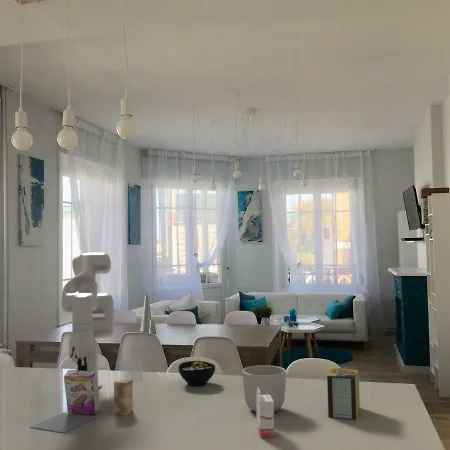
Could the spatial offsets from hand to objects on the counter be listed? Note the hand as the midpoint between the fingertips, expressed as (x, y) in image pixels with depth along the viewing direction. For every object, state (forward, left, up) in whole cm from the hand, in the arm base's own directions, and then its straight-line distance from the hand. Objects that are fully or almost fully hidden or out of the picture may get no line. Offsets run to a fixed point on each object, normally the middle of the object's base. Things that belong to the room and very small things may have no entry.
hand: (82, 375), depth 195 cm
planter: (+64, +29, -15) cm, 72 cm away
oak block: (+14, +7, -15) cm, 21 cm away
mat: (0, -10, -15) cm, 18 cm away
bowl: (+23, +53, -15) cm, 60 cm away
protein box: (+93, +37, -15) cm, 101 cm away
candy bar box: (0, +1, -14) cm, 14 cm away
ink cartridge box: (+72, +6, -15) cm, 74 cm away
